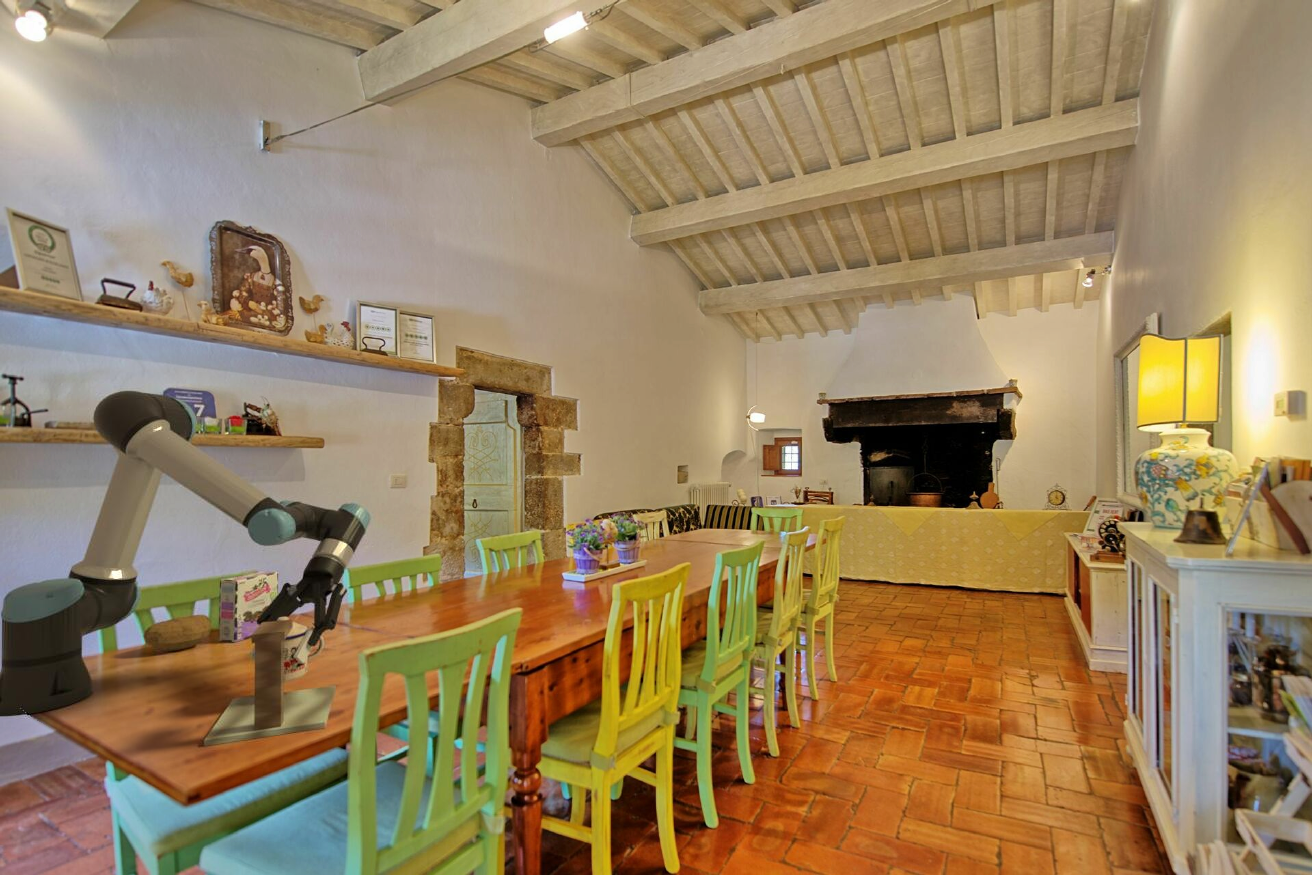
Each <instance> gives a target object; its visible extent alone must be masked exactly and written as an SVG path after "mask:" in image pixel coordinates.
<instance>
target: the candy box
mask: <svg viewBox="0 0 1312 875" xmlns="http://www.w3.org/2000/svg"><path fill="white" fill-rule="evenodd" d="M278 594H279V572H278V571H264V570H263V571H259V572H255V573H248V574H244V575H239V576H235V577H229V578H223V579H222V578H221V579H219V598H218V600H219V603H218V604H219V608H218V610H219V611H218V612H219V613H218V641H219V642H226V643H228V642H229V643H238V642H241V641H243V640H247V639H252V634H253V632H254V631H255V630H256V629H257V628H258V627H259V624H258V623H257V622H256V621H257V619H258V618H259V617H260V616H261V615H262V613H263V612H264V611H265V610H266V609H267V607H268V606H269V605H270V604H271V603H272V601H273V600H274V599H275V598H276V597H277V595H278Z"/></svg>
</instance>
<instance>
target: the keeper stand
mask: <svg viewBox="0 0 1312 875" xmlns="http://www.w3.org/2000/svg"><path fill="white" fill-rule="evenodd" d="M293 622H294V621H293V619H289V620H283V621H272V622H262V623H261V624H260V625H259V627H258V628H257V629H256V630H255V631H254V632H253V634H252V637H251V644H254V646H255V661H254V694H253V696H245V697H239V698H238V697H236V698H232V700H231V701H230V703H229V705H228V706H227V707H226V709H225V710H224V712H223V713H222V714H221V716H220V717H219V719H218V720H217V722H216V723H215V724H214V725H213V727H212V728H211V729H210V732H209V733H208V734H207V735H206V737H205V739H204V740H203V743H204V744H203V746H204V747H208V746H215V745H221V744H223V745H224V744H228V743H234V742H241V741H247V740H255V739H254V738H256V739H261V738H269V737H274V736H280V735H281V736H282V735H289V734H293V733H300V732H307V731H314V730H321V729H325V728H326V726H327V722H328V719H329V715H330V712H331V707H332V705H333V700H334V697H335V695H336V694H335V693H336V687H337V686H336V685H329V686H322V687H321V686H320V687H314V688H308V689H307V688H306V689H298V690H291V691H285V682H284V640H285V638H286V637H287V635H288V634H289V632H290V631H291V629H292V628H293Z"/></svg>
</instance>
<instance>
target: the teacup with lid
mask: <svg viewBox="0 0 1312 875" xmlns="http://www.w3.org/2000/svg"><path fill="white" fill-rule="evenodd" d="M283 620H290V618H289V617H280V618H278V619H277V621H283ZM308 628H309V627H308V626H307V625H306V624H301V623H297V622H295V621H293V628H292V629H291V631H290V632H289V634H288V635H287V637H286V638H285V640H284V683H286V682H290V681H295V680H297V679H300V678H301V677H303V676H305V675H306V674H307V673H308V669H309V668H308V661H309V660H312V659H314V658H316V657H317V656H319V655H320V654H321V653H322V650H323V649H324V645H325V641H324V640H325V639H324V637H323V636H322V635H321V637H320V639H319V643H318V644H319V645H318V647H317V649H316V651H315V652H313V653H312V654H308V656H307V658H306V660H305V662H304V664H302V663H299V662H298V661H297V660H296V659H295V658H294V655H295V653H296V651H297V649H298V647H299V645H300V643H301V642H302V640H303V638H304V636H305V634H306V632H307V630H308Z"/></svg>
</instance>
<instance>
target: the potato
mask: <svg viewBox="0 0 1312 875" xmlns="http://www.w3.org/2000/svg"><path fill="white" fill-rule="evenodd" d="M211 623H212V621H211V618H210V617H209V616H207V615H205V614H196V615H188V616H179V617H178V616H177V617H174V618H171V619H168V620H163V621H159V622H155V623H154V624H152V625H151V626H148V627H147V628H146V630H145V631H144V634H143V640H144V641H145V643H146V644H147V645H150V646H151V647H152V648H154V649H156V650H159V651H160V652H177V651H182V650H186V649H188V648H190V647H193V646H196V645H198V644H199V643H201V642H203V641H204V640H206V639H207V637H208V636H209V634H210V632H211V629H212V625H211Z"/></svg>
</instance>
